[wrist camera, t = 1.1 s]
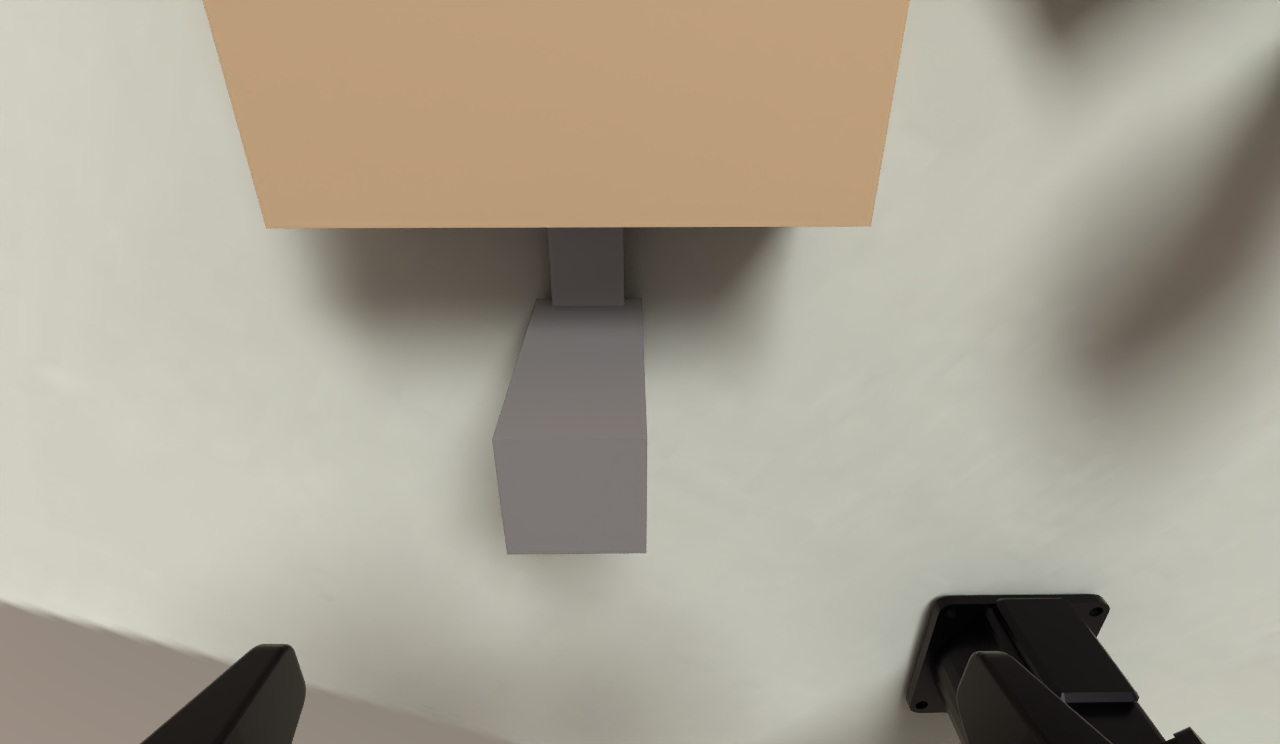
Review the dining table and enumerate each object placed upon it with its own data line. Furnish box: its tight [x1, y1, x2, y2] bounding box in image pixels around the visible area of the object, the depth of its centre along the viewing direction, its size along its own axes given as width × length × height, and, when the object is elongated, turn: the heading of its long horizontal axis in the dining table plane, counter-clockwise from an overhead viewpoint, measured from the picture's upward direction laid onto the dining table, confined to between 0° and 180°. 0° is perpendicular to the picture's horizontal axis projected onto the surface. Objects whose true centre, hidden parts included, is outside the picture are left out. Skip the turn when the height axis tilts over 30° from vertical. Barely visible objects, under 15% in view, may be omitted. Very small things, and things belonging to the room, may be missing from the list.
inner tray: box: [492, 227, 647, 554], centre depth 13 cm, size 20×10×7 cm, turn 0°
